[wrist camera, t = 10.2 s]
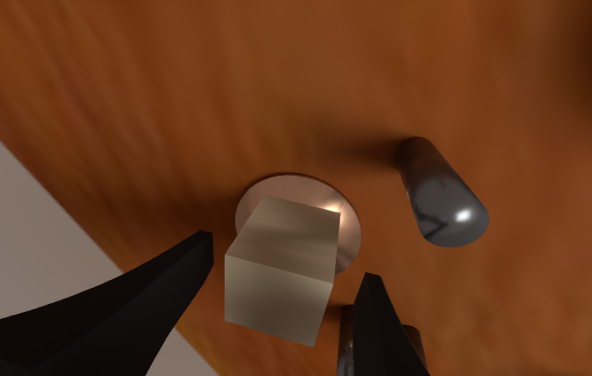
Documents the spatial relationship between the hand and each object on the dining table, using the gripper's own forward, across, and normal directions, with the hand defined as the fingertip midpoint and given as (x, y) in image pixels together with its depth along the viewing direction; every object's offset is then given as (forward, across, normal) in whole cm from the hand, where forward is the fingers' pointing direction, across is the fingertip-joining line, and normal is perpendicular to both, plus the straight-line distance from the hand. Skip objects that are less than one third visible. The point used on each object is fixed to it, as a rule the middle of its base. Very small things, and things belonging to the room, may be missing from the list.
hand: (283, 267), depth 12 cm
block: (+2, 0, 0) cm, 3 cm away
